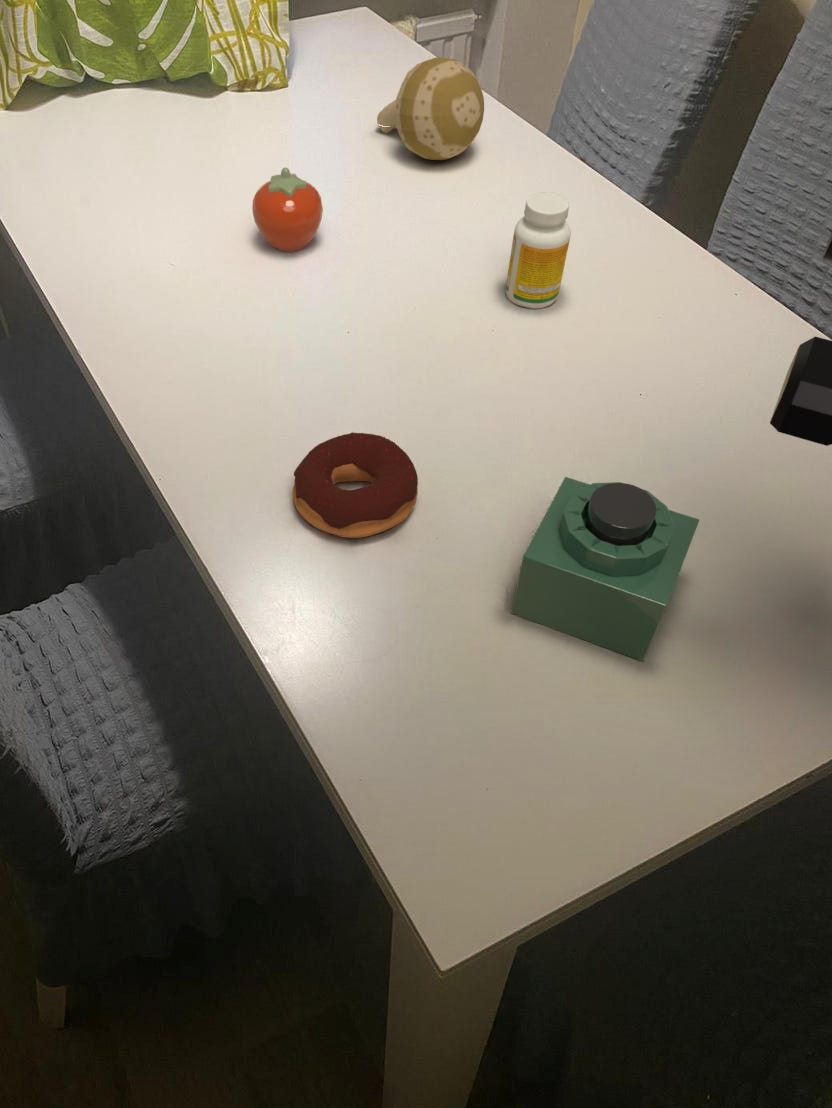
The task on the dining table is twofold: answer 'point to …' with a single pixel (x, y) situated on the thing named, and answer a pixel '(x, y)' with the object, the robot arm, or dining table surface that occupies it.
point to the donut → (361, 506)
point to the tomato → (287, 211)
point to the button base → (601, 574)
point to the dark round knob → (620, 514)
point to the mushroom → (436, 109)
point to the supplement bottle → (539, 251)
